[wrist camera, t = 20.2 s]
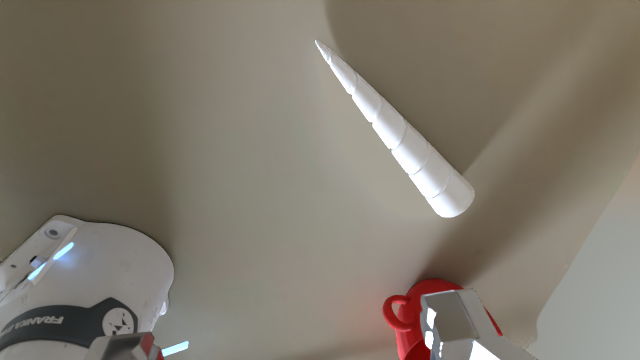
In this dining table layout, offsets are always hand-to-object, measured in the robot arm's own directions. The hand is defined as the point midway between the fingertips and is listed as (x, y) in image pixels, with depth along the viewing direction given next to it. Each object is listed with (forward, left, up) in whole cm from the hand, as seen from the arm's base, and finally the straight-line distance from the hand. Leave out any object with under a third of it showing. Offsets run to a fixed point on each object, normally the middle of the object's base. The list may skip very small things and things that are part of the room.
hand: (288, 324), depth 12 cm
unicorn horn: (+6, -12, -29) cm, 32 cm away
